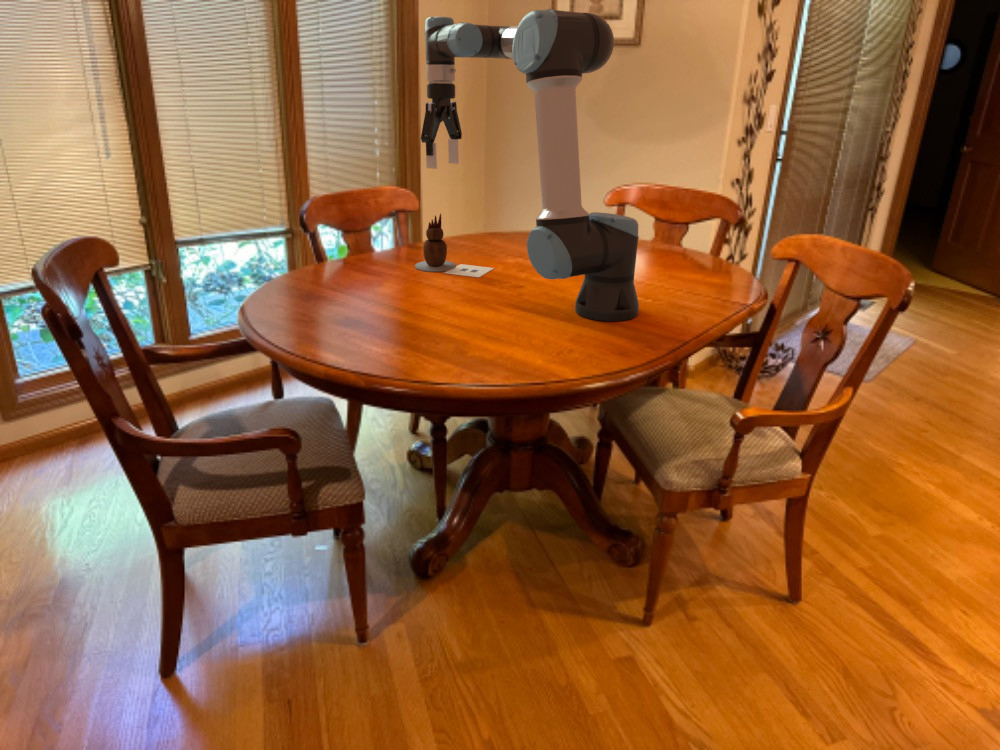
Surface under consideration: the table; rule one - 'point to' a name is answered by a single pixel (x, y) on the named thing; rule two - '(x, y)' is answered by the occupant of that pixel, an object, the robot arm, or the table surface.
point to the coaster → (435, 267)
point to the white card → (469, 270)
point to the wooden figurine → (435, 244)
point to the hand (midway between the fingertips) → (442, 165)
